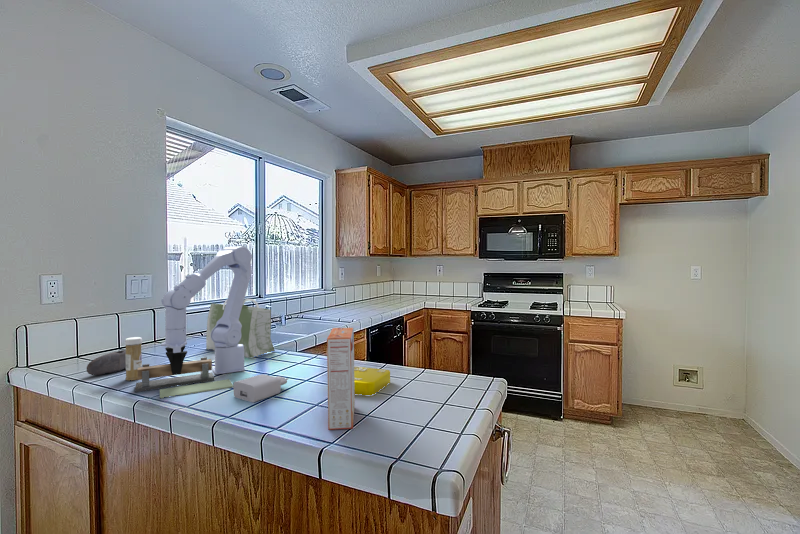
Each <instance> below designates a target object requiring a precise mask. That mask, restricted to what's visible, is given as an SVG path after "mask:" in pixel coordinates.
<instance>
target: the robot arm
mask: <svg viewBox="0 0 800 534" xmlns="http://www.w3.org/2000/svg"><path fill="white" fill-rule="evenodd" d="M252 258H253V255H252V253H251V251H250V250H249V248H248V247H246V246H243V245H241V246H225V247H224V248H223V247H222V249H221V250H219V251H217V253H216V254H215V256H214V257H213V258H211V259H210V261H209V262H207V264H205V266H203V268H201V269H200V271H198V272H197V273H196V272H195V273H194V272H193V273H191V274H187V275H185V276H184V279H183V280H182V281H181V282H180V283H179V284H178V285H176V284H175V285H174V286H173V290H168V291H167V292H165V293H164V295H163V297H162V298H161V305H163V307H164V309H165V317H164V319H165V322H164V323H165V324H164V325H165V331H164V332H165V335H164V337H165V341H164V342H162V343H160V347H165V348H164V350H165V355H166V357H167V359H168V362H169V364H170V365H171V371H172V374H173V375H172V376H178V374H179V375H182V374H181V370H182V365H183V362H185V357H187V353H188V351H187V350H186V346H187V344H188V341H187V307H189V306H190V304H191V300H192V298H194V296H196V295H197V294H198V293H199V292H200V291H201V290H203V289H204V288H205V287H206V283H207V282H206V281H207V280H208V279H209V278H210V277H212V276H213V275H214V274H216V273H217V272H218V271H219V270H220V269H223V267H225V266H226V267H228V268H229V269H230V270H231V271H232V273H233V274H234V275H233V279H232V283H231V286H230V290H229V292H228V297H227V299H226V300H227V302H226V304H225V305H226V306H225V309H224V313H223V316H222V317H221V318H220V319H219V320H218V321H217V323H216V326H215V327H214V328H213V329H212V331H211V339H212V341H213V342H214V345H215V350H214V367H212V370H211V371H213V373H214V375H220V374H221V375H222V374H228V373H229V374H230V373H236V372H243V371H246V369H245V357H244V346H243V344H238V343H239V341H240V340H241V328H242V325H241V323H240V321H239V316H240V313H241V309H242V306H243V302H244V300H245V299H246V294H247V292H248V291H247V290H248V287H249V285H250V284H249V283H250V282H251V281H250V280H251V278H252V263H251V262H252V260H253V259H252Z"/></svg>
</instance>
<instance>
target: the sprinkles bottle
mask: <svg viewBox="0 0 800 534" xmlns="http://www.w3.org/2000/svg"><path fill="white" fill-rule="evenodd" d="M142 343H143V338H142V336H141V337H140V336H133V337H132V336H131V337H128V338H127V337H126V338H125V340H124V344H125V350H126V369H125V380H126V381H129V382H131V381H137V380H138V368H139V367H142V365H143V363H142V361H143V360H142V357H143V354H142ZM130 380H131V381H130Z"/></svg>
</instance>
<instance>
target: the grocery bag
mask: <svg viewBox="0 0 800 534" xmlns="http://www.w3.org/2000/svg"><path fill="white" fill-rule="evenodd" d="M249 301H250V302H252V303H254V304H255V306H256V307H255V306H248V305H245V303H246V302H249ZM226 303H227V299H225V301H224V302H223V304H222V303H210V307H209V311H208V313H207V322H206V335H205V338H206V340H205V342H206V346H205V347H206V350H209V349H213V350H212V351H215V345H214V342H213V341H212V339H211V331H212V329H213V328H214V327H215V326H216V323H217V321H218V320H219V319H220V318H221V317H222V316H223V313H224V309H225V306H226ZM239 321H240V323H241V325H242V328H241V340H240V341H239V343H238V344H243V346H244V356H245V357H244V358H248V357H253V358H255V357H254V356H257V357H259V356H258V355H261V354H264V353H267V352H271V351H275V352H276V350H275V347H274V343H273V341H272V338H271V334H272V333H271V332H272V331H271V330H272V309H269V308H264V307H263V308H262V307H260V305H259V303H258V302H257V300H255V299H253V298H245V299H244V302H243V306H242V309H241V313H240V316H239Z"/></svg>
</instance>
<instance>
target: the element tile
mask: <svg viewBox="0 0 800 534" xmlns="http://www.w3.org/2000/svg"><path fill="white" fill-rule="evenodd" d="M388 383H390V384H391V371H390V369H385V368H384V369H382V368H374V367H364V366H359V365H354V389H355V394H362V395H372V394H375V393H376V392H378V391H379V390H380V389H382V388H383V387H384V386H386V385H387V384H388Z"/></svg>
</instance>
